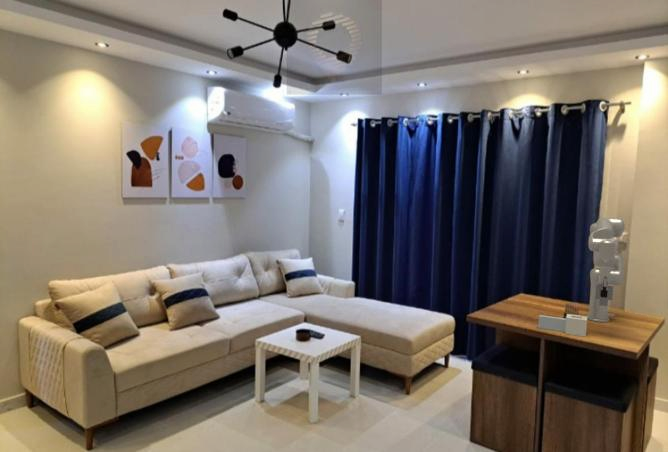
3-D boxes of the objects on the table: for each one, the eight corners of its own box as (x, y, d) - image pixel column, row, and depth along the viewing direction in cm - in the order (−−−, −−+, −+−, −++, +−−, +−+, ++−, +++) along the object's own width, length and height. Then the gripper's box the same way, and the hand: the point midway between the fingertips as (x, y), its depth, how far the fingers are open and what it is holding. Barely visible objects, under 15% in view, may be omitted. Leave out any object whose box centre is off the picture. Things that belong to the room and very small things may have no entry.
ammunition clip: (563, 320, 287) (564, 301, 286) (565, 320, 288) (566, 301, 287) (575, 326, 277) (577, 305, 276) (578, 326, 277) (580, 305, 276)
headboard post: (539, 325, 277) (540, 310, 276) (585, 332, 265) (587, 316, 265) (537, 329, 269) (538, 313, 268) (585, 336, 257) (586, 320, 257)
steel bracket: (594, 303, 265) (596, 284, 264) (611, 305, 261) (612, 285, 260) (594, 304, 262) (596, 285, 261) (611, 306, 258) (613, 286, 257)
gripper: (597, 260, 268) (595, 292, 270) (598, 264, 254) (596, 298, 256) (613, 261, 265) (610, 294, 267) (614, 266, 251) (612, 300, 252)
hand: (603, 296), depth 261 cm, fingers closed on steel bracket, 3 cm apart
